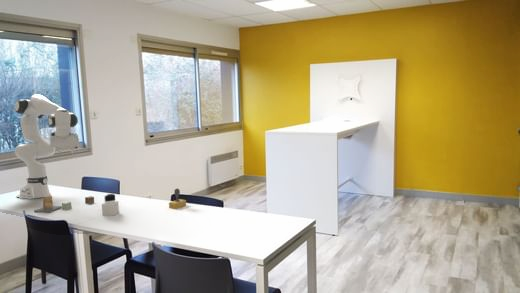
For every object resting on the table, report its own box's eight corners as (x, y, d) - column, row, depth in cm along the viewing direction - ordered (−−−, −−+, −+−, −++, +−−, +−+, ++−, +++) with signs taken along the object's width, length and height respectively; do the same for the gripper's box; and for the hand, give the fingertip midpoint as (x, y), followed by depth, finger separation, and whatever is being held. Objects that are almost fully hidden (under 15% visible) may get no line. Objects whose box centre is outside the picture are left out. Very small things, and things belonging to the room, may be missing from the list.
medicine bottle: (119, 212, 243) (117, 193, 242) (113, 215, 236) (112, 196, 235) (108, 212, 244) (106, 193, 242) (102, 215, 237) (100, 196, 235)
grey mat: (34, 212, 248) (34, 210, 247) (47, 207, 258) (47, 205, 258) (49, 212, 245) (49, 211, 245) (61, 207, 256) (61, 206, 256)
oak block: (43, 208, 251) (42, 196, 250) (49, 207, 254) (48, 195, 253) (46, 209, 249) (45, 197, 248) (53, 208, 252) (51, 195, 251)
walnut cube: (85, 203, 267) (84, 197, 267) (90, 201, 271) (90, 196, 270) (88, 203, 265) (88, 198, 265) (94, 202, 268) (93, 196, 268)
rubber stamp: (175, 209, 248) (174, 190, 246) (168, 208, 251) (167, 189, 249) (186, 205, 256) (185, 187, 255) (179, 204, 259) (179, 186, 258)
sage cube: (62, 208, 254) (61, 202, 254) (68, 207, 258) (67, 201, 257) (65, 209, 252) (65, 203, 252) (71, 208, 255) (71, 202, 255)
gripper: (80, 132, 267) (82, 153, 269) (54, 132, 271) (56, 152, 273) (74, 133, 261) (76, 154, 263) (47, 133, 265) (49, 154, 267)
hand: (65, 153), depth 268 cm, fingers open, 8 cm apart
